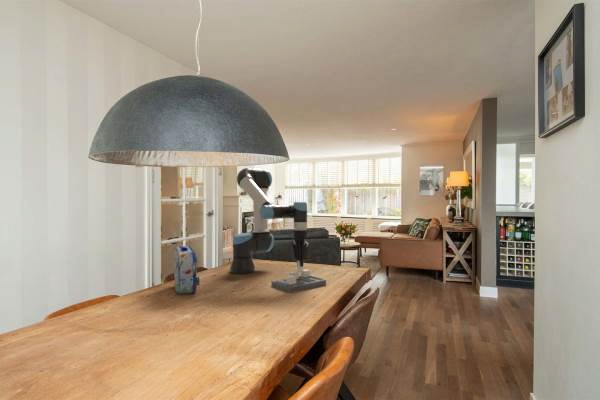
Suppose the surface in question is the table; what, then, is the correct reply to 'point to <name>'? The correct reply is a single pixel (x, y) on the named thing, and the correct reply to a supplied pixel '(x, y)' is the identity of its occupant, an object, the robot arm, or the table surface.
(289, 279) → the switch
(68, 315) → the table surface
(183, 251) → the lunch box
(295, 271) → the switch middle
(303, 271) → the switch
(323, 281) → the switch panel
